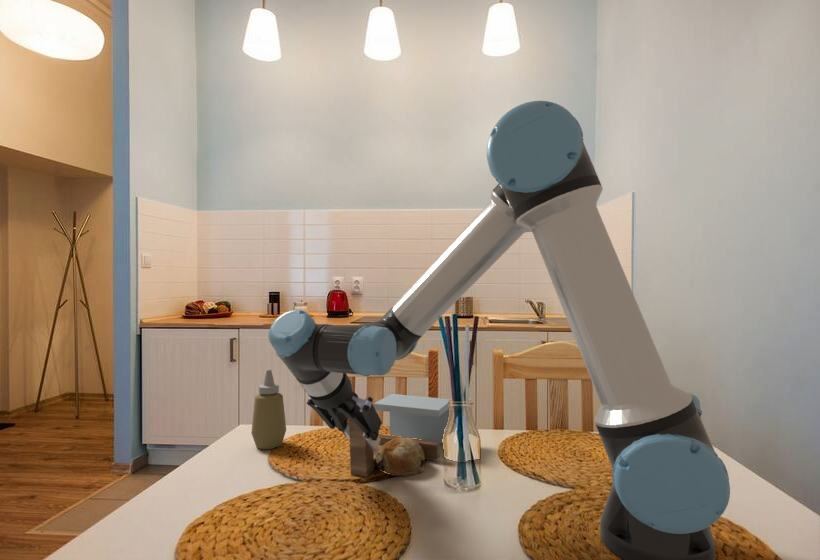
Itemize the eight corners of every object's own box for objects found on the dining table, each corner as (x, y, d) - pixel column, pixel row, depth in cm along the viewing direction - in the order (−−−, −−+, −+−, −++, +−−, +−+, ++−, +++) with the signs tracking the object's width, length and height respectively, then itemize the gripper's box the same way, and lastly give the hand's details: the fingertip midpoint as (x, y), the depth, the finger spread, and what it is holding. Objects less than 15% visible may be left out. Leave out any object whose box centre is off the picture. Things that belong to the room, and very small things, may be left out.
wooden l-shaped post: (416, 485, 92) (414, 423, 92) (348, 474, 98) (347, 415, 97) (439, 456, 105) (438, 402, 105) (378, 447, 111) (377, 396, 110)
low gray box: (438, 457, 107) (438, 410, 107) (373, 448, 113) (373, 403, 113) (452, 442, 116) (452, 399, 116) (391, 435, 122) (391, 393, 122)
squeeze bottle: (243, 449, 112) (243, 372, 112) (264, 438, 120) (263, 366, 120) (274, 453, 110) (274, 374, 110) (292, 441, 117) (292, 368, 117)
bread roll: (412, 496, 96) (429, 460, 95) (366, 471, 97) (383, 436, 97) (418, 476, 106) (434, 443, 105) (376, 454, 107) (392, 422, 106)
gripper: (373, 365, 85) (409, 431, 100) (294, 359, 91) (339, 422, 107) (358, 402, 80) (399, 466, 95) (276, 394, 86) (326, 455, 102)
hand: (367, 443), depth 101 cm, fingers closed on wooden l-shaped post, 3 cm apart
